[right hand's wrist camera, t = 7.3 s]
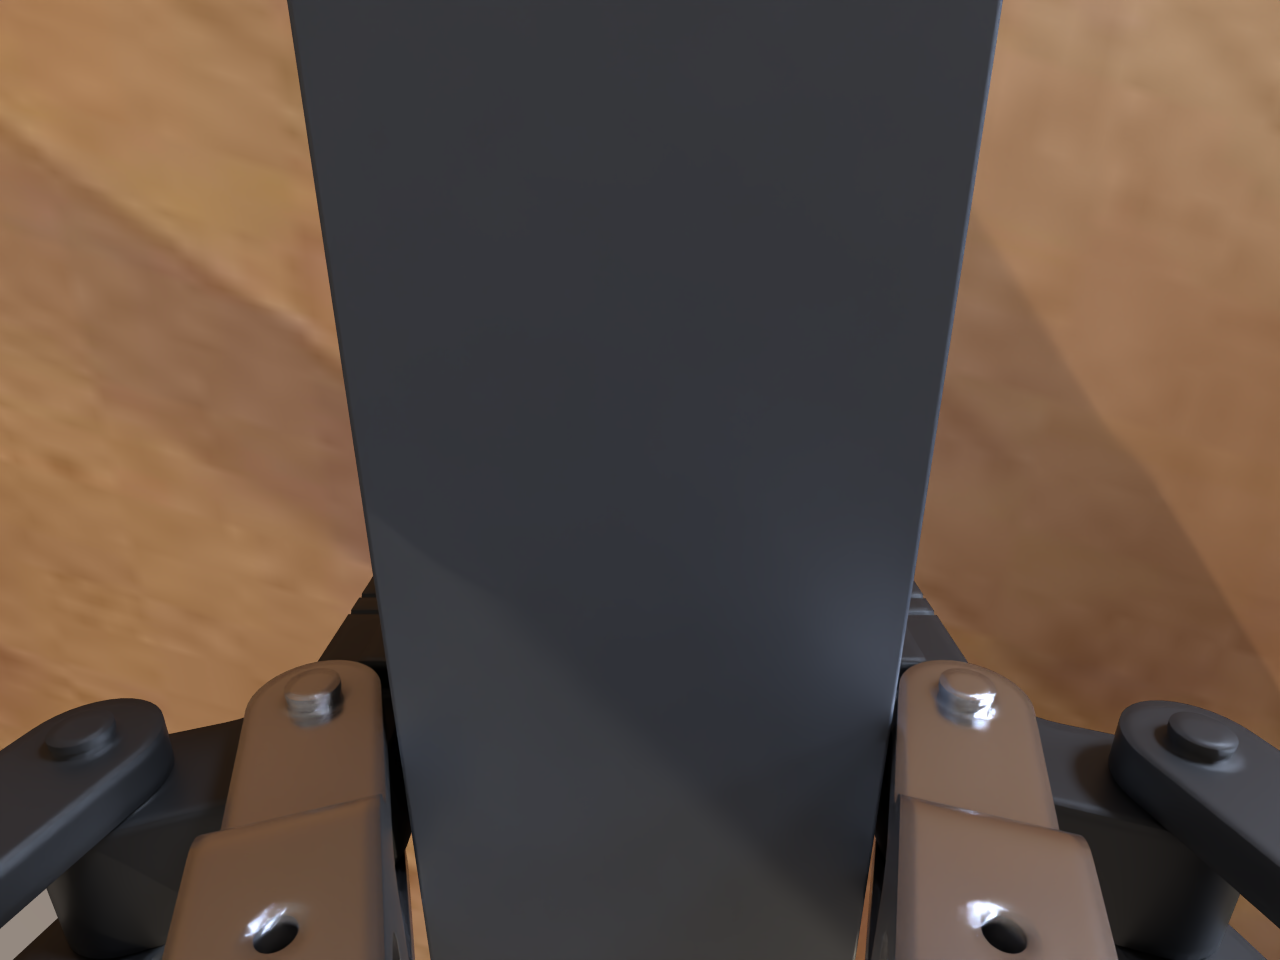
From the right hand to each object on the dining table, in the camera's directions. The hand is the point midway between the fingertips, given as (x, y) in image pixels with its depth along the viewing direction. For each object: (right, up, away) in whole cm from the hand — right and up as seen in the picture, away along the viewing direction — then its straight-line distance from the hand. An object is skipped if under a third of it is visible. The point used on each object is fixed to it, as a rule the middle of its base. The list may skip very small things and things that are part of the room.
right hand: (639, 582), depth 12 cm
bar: (0, +18, -3) cm, 18 cm away
